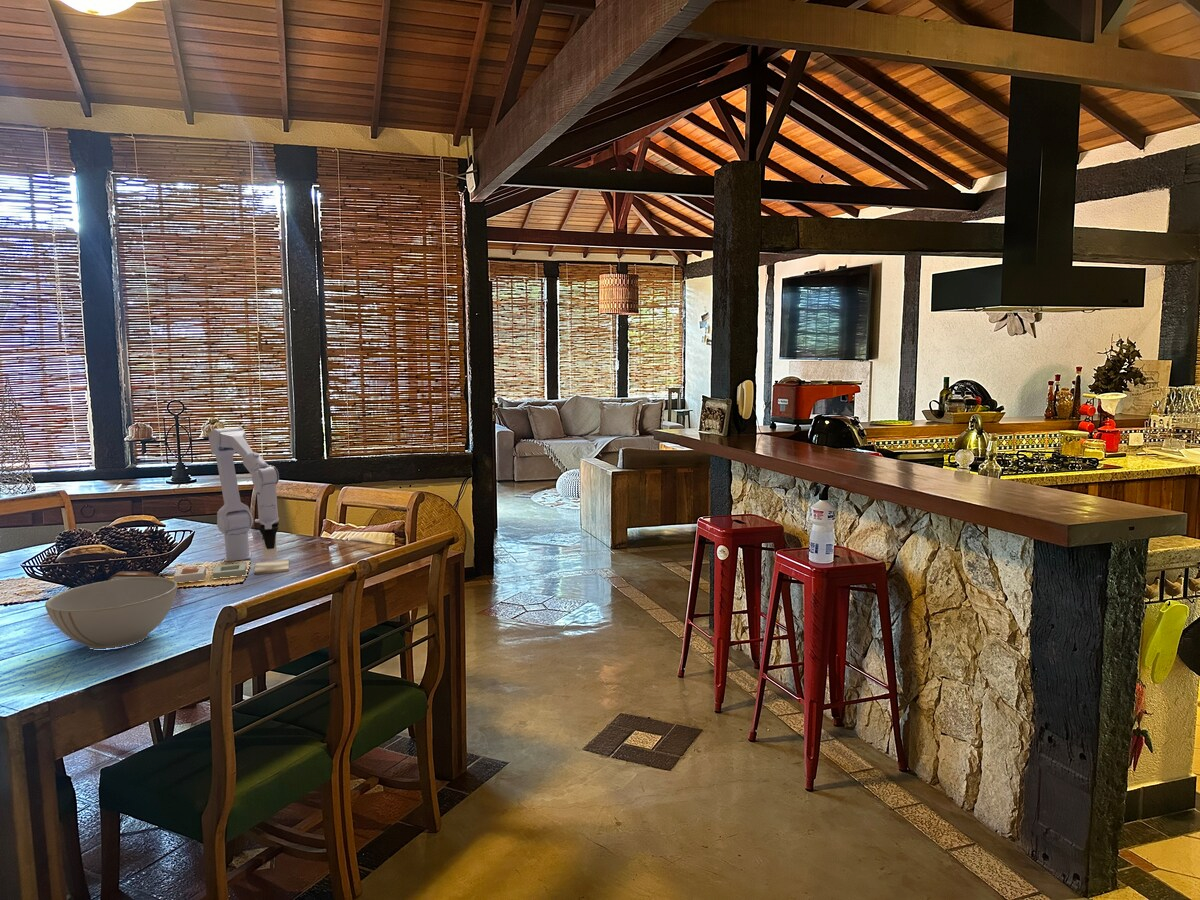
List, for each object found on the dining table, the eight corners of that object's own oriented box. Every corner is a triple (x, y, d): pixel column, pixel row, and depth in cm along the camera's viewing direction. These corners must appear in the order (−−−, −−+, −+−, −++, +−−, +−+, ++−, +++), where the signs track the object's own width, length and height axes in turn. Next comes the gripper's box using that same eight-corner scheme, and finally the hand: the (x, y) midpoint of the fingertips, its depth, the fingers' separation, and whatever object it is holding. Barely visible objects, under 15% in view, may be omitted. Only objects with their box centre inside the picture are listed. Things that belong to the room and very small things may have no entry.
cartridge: (263, 555, 254) (262, 534, 253) (277, 554, 255) (275, 532, 254) (263, 558, 250) (261, 536, 249) (277, 557, 252) (275, 535, 251)
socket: (215, 572, 250) (215, 566, 250) (246, 568, 253) (246, 562, 253) (213, 579, 241) (212, 573, 241) (245, 576, 245) (244, 569, 244)
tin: (164, 600, 222) (161, 570, 221) (156, 603, 219) (154, 573, 218) (114, 599, 224) (111, 570, 223) (106, 603, 221) (103, 573, 220)
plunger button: (184, 576, 243) (183, 567, 243) (198, 575, 245) (197, 565, 244) (182, 580, 240) (181, 570, 239) (197, 578, 241) (196, 569, 241)
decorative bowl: (30, 669, 173) (24, 616, 172) (75, 629, 199) (70, 582, 198) (165, 655, 180) (161, 603, 179) (192, 617, 206) (188, 572, 205)
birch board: (255, 565, 257) (255, 562, 257) (288, 561, 261) (288, 559, 261) (254, 574, 246) (254, 572, 246) (288, 570, 250) (288, 568, 249)
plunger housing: (177, 577, 245) (177, 569, 244) (206, 574, 247) (205, 566, 247) (174, 584, 237) (173, 576, 237) (203, 581, 240) (203, 573, 240)
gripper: (254, 502, 256) (257, 543, 258) (252, 510, 243) (256, 553, 244) (278, 500, 259) (281, 541, 260) (277, 508, 245) (280, 551, 247)
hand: (270, 547), depth 252 cm, fingers closed on cartridge, 4 cm apart
